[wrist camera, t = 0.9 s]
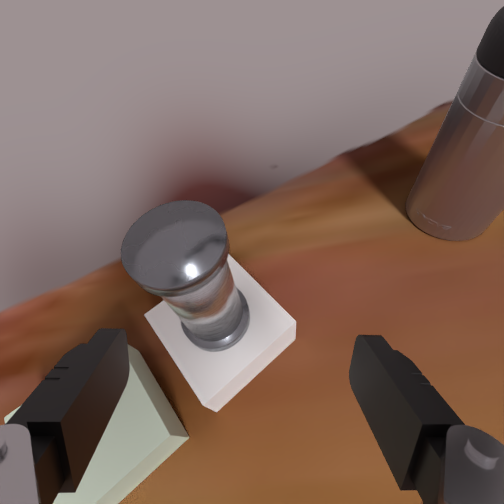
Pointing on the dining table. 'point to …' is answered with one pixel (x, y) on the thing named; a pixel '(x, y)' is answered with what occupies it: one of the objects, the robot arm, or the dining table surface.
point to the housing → (189, 271)
